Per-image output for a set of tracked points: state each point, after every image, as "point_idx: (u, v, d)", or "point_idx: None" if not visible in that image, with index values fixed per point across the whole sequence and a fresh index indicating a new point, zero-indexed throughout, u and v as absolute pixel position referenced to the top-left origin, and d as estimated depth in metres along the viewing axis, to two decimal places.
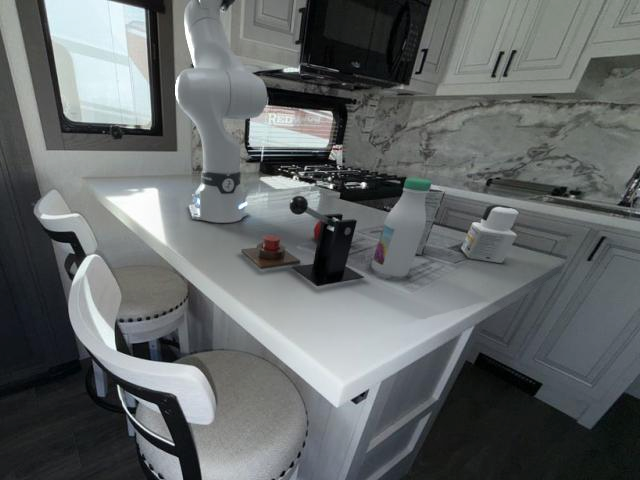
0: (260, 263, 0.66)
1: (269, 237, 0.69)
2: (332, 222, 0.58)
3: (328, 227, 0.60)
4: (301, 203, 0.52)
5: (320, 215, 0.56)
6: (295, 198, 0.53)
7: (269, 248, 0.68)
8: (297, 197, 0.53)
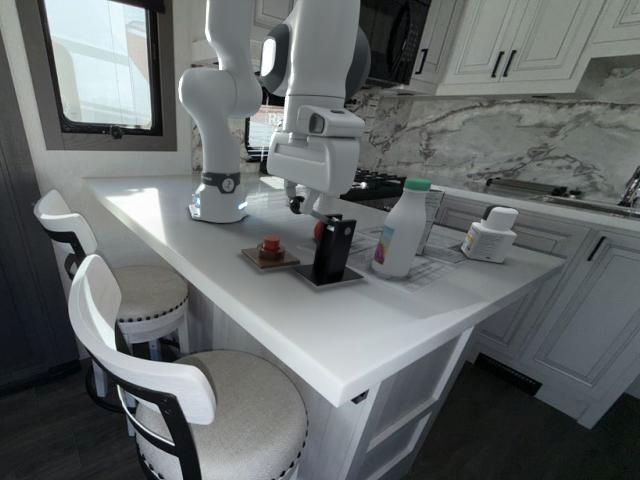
0: (260, 263, 0.66)
1: (269, 237, 0.69)
2: (332, 222, 0.58)
3: (328, 227, 0.60)
4: None
5: (320, 215, 0.56)
6: (295, 198, 0.53)
7: (269, 248, 0.68)
8: (297, 197, 0.53)
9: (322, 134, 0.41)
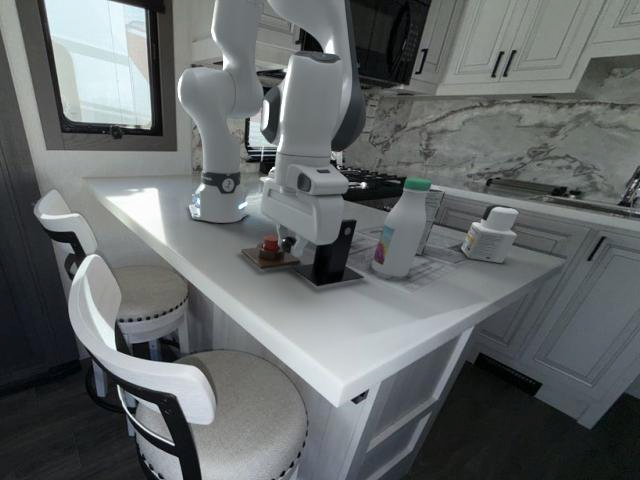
0: (260, 263, 0.66)
1: (269, 237, 0.69)
2: None
3: None
4: (290, 246, 0.56)
5: None
6: (283, 244, 0.57)
7: (269, 248, 0.68)
8: (284, 242, 0.56)
9: (309, 193, 0.45)
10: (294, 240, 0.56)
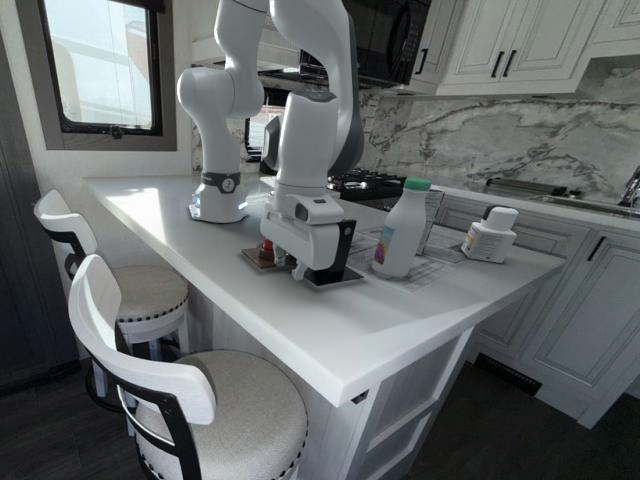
0: (260, 263, 0.66)
1: None
2: None
3: None
4: (293, 261, 0.58)
5: None
6: (286, 260, 0.59)
7: (269, 248, 0.68)
8: (286, 258, 0.58)
9: (306, 222, 0.47)
10: None
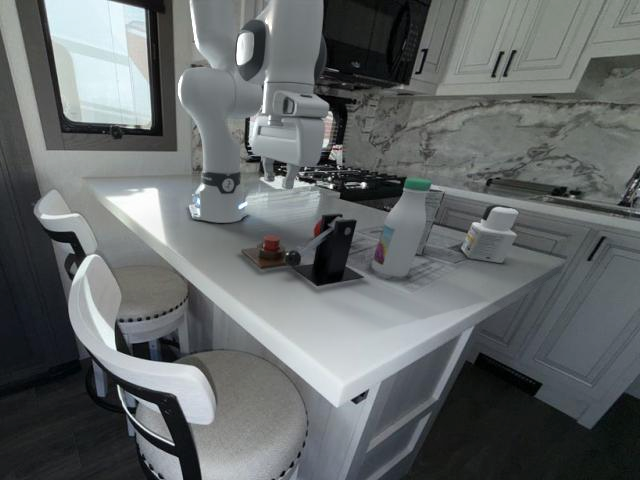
0: (260, 263, 0.66)
1: (269, 237, 0.69)
2: (329, 233, 0.59)
3: None
4: (293, 261, 0.58)
5: (315, 243, 0.59)
6: (286, 260, 0.59)
7: (269, 248, 0.68)
8: (286, 258, 0.58)
9: (292, 114, 0.49)
10: (296, 254, 0.58)
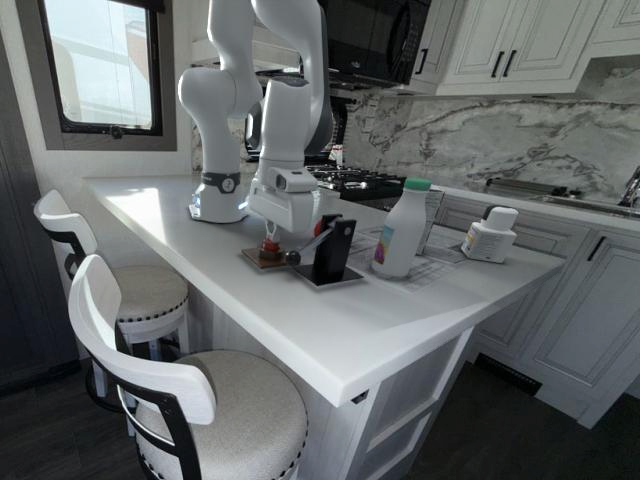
0: (260, 263, 0.66)
1: None
2: (329, 233, 0.59)
3: None
4: (293, 261, 0.58)
5: (315, 243, 0.59)
6: (286, 260, 0.59)
7: (269, 250, 0.68)
8: (286, 258, 0.58)
9: (285, 190, 0.55)
10: (296, 254, 0.58)
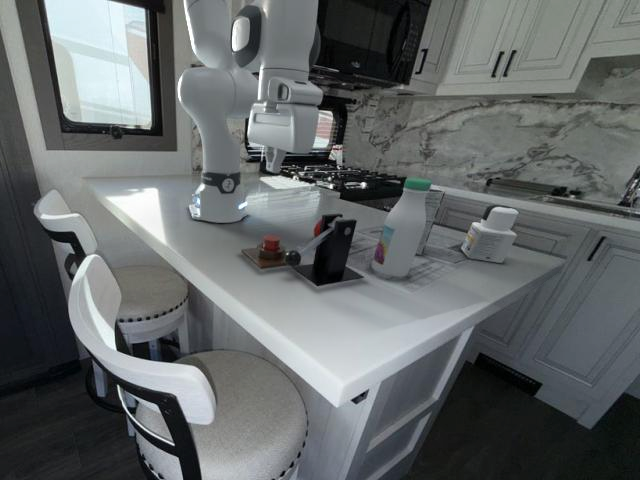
0: (260, 263, 0.66)
1: (269, 237, 0.69)
2: (329, 233, 0.59)
3: None
4: (293, 261, 0.58)
5: (315, 243, 0.59)
6: (286, 260, 0.59)
7: (269, 248, 0.68)
8: (286, 258, 0.58)
9: (287, 100, 0.50)
10: (296, 254, 0.58)
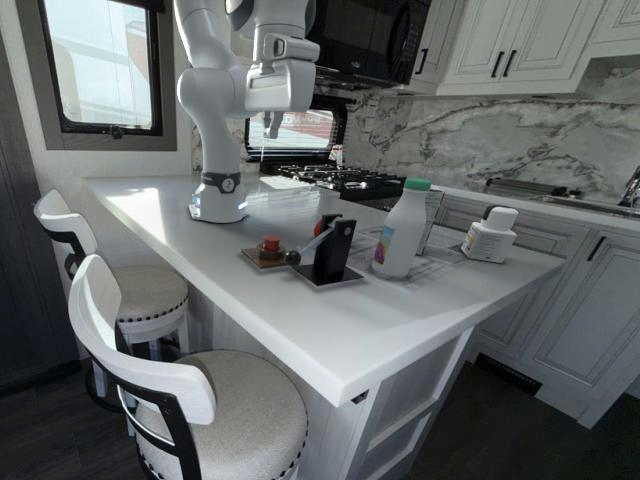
0: (260, 263, 0.66)
1: (269, 237, 0.69)
2: (329, 233, 0.59)
3: None
4: (293, 261, 0.58)
5: (315, 243, 0.59)
6: (286, 260, 0.59)
7: (269, 248, 0.68)
8: (286, 258, 0.58)
9: (283, 55, 0.49)
10: (296, 254, 0.58)
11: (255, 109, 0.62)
